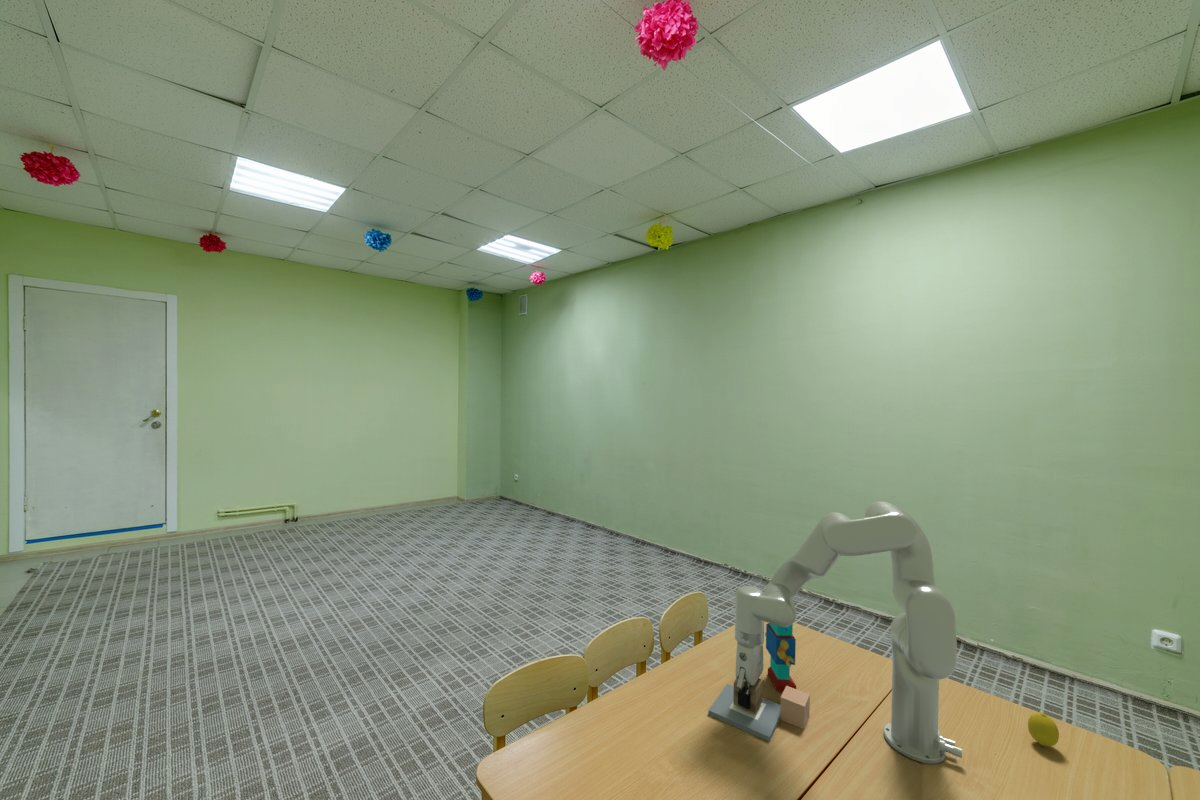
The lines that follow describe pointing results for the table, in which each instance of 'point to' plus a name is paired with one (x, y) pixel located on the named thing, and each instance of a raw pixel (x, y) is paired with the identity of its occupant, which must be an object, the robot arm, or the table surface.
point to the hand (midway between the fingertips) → (748, 699)
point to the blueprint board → (746, 714)
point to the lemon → (1043, 729)
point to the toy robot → (780, 655)
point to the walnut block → (755, 693)
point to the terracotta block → (795, 707)
